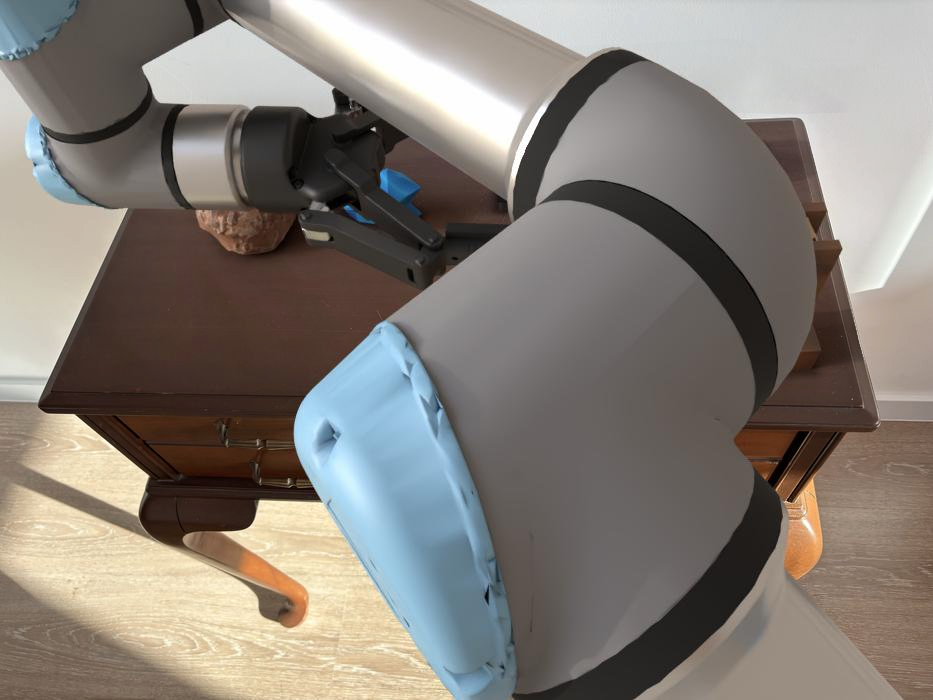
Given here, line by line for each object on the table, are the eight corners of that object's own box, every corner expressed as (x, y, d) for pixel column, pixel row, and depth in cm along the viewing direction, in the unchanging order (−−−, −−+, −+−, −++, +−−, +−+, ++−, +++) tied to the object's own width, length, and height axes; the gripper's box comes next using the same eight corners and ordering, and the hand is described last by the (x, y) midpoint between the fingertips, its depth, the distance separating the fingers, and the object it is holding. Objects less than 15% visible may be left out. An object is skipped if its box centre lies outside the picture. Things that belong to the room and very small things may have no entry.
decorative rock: (258, 181, 89) (229, 116, 81) (330, 204, 85) (306, 138, 77) (193, 252, 83) (154, 190, 75) (267, 280, 79) (234, 218, 71)
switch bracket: (701, 383, 66) (744, 259, 52) (690, 332, 70) (728, 202, 55) (809, 378, 66) (884, 251, 51) (793, 327, 69) (859, 194, 54)
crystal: (328, 153, 80) (422, 139, 76) (361, 207, 87) (449, 197, 82) (308, 198, 76) (405, 186, 72) (343, 251, 83) (435, 243, 78)
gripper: (302, 88, 60) (548, 93, 58) (228, 332, 47) (540, 347, 46) (278, 7, 54) (554, 10, 52) (186, 264, 41) (546, 279, 39)
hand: (548, 168), depth 49 cm, fingers open, 13 cm apart
